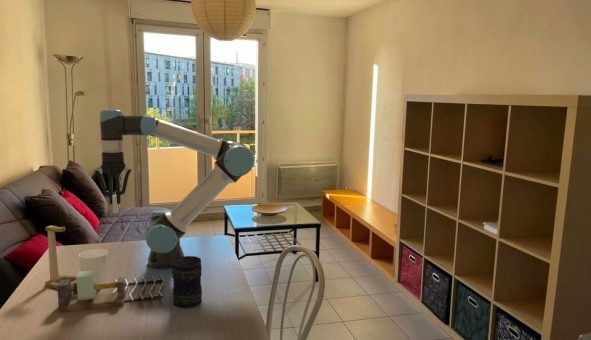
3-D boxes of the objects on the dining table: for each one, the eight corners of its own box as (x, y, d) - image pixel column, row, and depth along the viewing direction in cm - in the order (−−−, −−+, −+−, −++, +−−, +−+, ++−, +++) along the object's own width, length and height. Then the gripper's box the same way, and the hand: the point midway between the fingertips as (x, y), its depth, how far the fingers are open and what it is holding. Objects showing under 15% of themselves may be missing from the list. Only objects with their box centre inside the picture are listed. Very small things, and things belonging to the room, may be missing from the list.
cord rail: (125, 295, 151) (124, 272, 150) (123, 305, 143) (122, 281, 142) (63, 301, 145) (61, 278, 144) (57, 312, 138) (56, 287, 136)
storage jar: (168, 300, 148) (167, 259, 145) (194, 293, 154) (194, 254, 151) (179, 311, 140) (178, 268, 138) (206, 303, 146) (206, 262, 143)
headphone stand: (66, 291, 153) (62, 232, 150) (40, 287, 155) (36, 230, 152) (86, 279, 163) (83, 224, 160) (61, 276, 166) (58, 222, 162)
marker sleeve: (96, 290, 146) (95, 270, 145) (94, 296, 142) (92, 275, 141) (80, 292, 145) (79, 271, 144) (77, 298, 140) (76, 277, 139)
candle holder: (80, 291, 153) (78, 259, 151) (80, 281, 162) (78, 251, 160) (109, 286, 158) (108, 255, 156) (108, 276, 166) (106, 247, 164)
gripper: (131, 149, 164) (134, 209, 167) (95, 150, 160) (98, 210, 163) (130, 152, 156) (133, 213, 160) (91, 152, 153) (95, 215, 156)
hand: (115, 212), depth 162 cm, fingers closed
